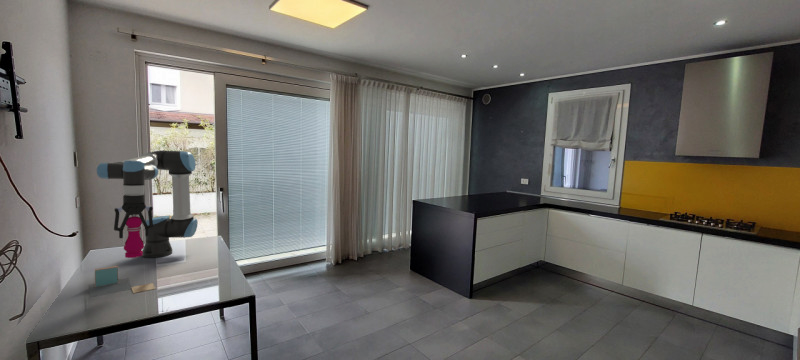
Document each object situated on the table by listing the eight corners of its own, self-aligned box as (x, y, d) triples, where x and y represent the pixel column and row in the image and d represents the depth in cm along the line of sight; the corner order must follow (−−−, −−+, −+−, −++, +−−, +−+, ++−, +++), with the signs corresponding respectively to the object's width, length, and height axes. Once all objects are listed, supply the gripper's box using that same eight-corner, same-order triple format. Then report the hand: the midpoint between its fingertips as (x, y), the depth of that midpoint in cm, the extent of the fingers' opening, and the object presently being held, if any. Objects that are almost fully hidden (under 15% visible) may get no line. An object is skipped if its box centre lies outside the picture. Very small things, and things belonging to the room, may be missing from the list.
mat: (127, 278, 160) (127, 278, 160) (131, 289, 148) (131, 289, 148) (88, 285, 150) (88, 284, 150) (89, 297, 138) (89, 297, 138)
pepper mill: (120, 256, 146) (120, 213, 145) (138, 252, 153) (138, 211, 151) (129, 259, 143) (129, 215, 142) (147, 255, 150) (147, 213, 149)
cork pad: (152, 284, 155) (152, 283, 155) (155, 289, 149) (155, 288, 149) (131, 288, 149) (131, 287, 149) (133, 294, 144) (133, 292, 144)
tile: (117, 281, 155) (117, 265, 154) (118, 283, 154) (117, 266, 153) (94, 285, 149) (94, 269, 149) (95, 287, 148) (94, 270, 147)
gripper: (159, 192, 156) (159, 239, 157) (104, 194, 142) (105, 245, 144) (161, 194, 150) (161, 242, 152) (105, 196, 137) (105, 249, 138)
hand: (134, 243), depth 148 cm, fingers closed on pepper mill, 6 cm apart
